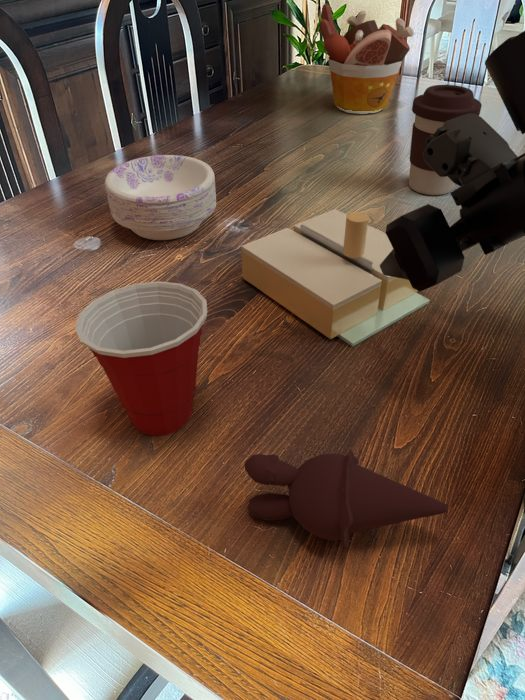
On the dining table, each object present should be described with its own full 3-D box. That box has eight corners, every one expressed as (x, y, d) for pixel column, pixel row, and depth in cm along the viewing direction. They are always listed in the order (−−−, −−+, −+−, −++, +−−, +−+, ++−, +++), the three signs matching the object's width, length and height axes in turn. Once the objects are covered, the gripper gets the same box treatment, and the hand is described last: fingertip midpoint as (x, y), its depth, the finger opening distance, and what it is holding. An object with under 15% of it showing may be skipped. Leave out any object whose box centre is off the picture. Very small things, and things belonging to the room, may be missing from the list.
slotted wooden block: (436, 299, 67) (445, 262, 63) (343, 352, 59) (347, 313, 56) (322, 237, 79) (324, 203, 76) (233, 274, 71) (231, 239, 68)
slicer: (374, 300, 66) (385, 223, 59) (360, 307, 64) (370, 230, 58) (306, 260, 73) (310, 187, 66) (292, 266, 72) (295, 192, 65)
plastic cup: (177, 359, 59) (163, 261, 51) (240, 417, 52) (234, 314, 44) (82, 407, 53) (50, 305, 46) (139, 477, 47) (112, 372, 39)
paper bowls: (157, 263, 74) (149, 208, 69) (93, 227, 82) (82, 175, 77) (239, 224, 82) (237, 172, 77) (174, 194, 90) (168, 146, 85)
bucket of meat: (404, 99, 129) (419, -1, 116) (401, 121, 117) (416, 12, 104) (320, 94, 133) (325, -3, 120) (307, 115, 121) (311, 9, 108)
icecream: (448, 438, 42) (254, 422, 45) (457, 503, 35) (229, 479, 38) (440, 511, 44) (258, 491, 48) (447, 583, 38) (236, 554, 41)
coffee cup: (393, 193, 90) (408, 95, 80) (408, 171, 97) (423, 78, 87) (455, 204, 86) (479, 103, 77) (466, 180, 93) (488, 85, 84)
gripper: (567, 69, 47) (436, 161, 61) (425, 114, 38) (309, 209, 52) (624, 188, 47) (481, 252, 61) (496, 260, 38) (362, 316, 52)
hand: (413, 254), depth 56 cm, fingers open, 9 cm apart
